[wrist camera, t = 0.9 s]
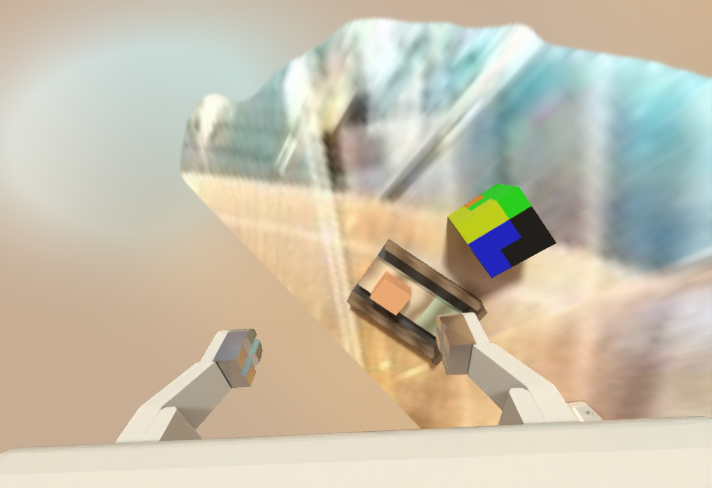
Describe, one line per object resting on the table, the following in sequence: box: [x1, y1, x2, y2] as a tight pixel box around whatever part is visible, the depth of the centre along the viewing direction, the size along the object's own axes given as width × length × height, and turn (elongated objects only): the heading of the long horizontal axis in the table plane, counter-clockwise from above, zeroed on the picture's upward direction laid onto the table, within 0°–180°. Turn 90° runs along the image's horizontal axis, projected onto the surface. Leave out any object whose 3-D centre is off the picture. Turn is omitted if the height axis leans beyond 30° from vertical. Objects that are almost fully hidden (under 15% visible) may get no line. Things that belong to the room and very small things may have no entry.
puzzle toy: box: [448, 184, 556, 278], centre depth 44 cm, size 10×10×10 cm
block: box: [370, 271, 411, 315], centre depth 51 cm, size 6×5×4 cm
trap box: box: [347, 240, 487, 365], centre depth 53 cm, size 22×15×5 cm
